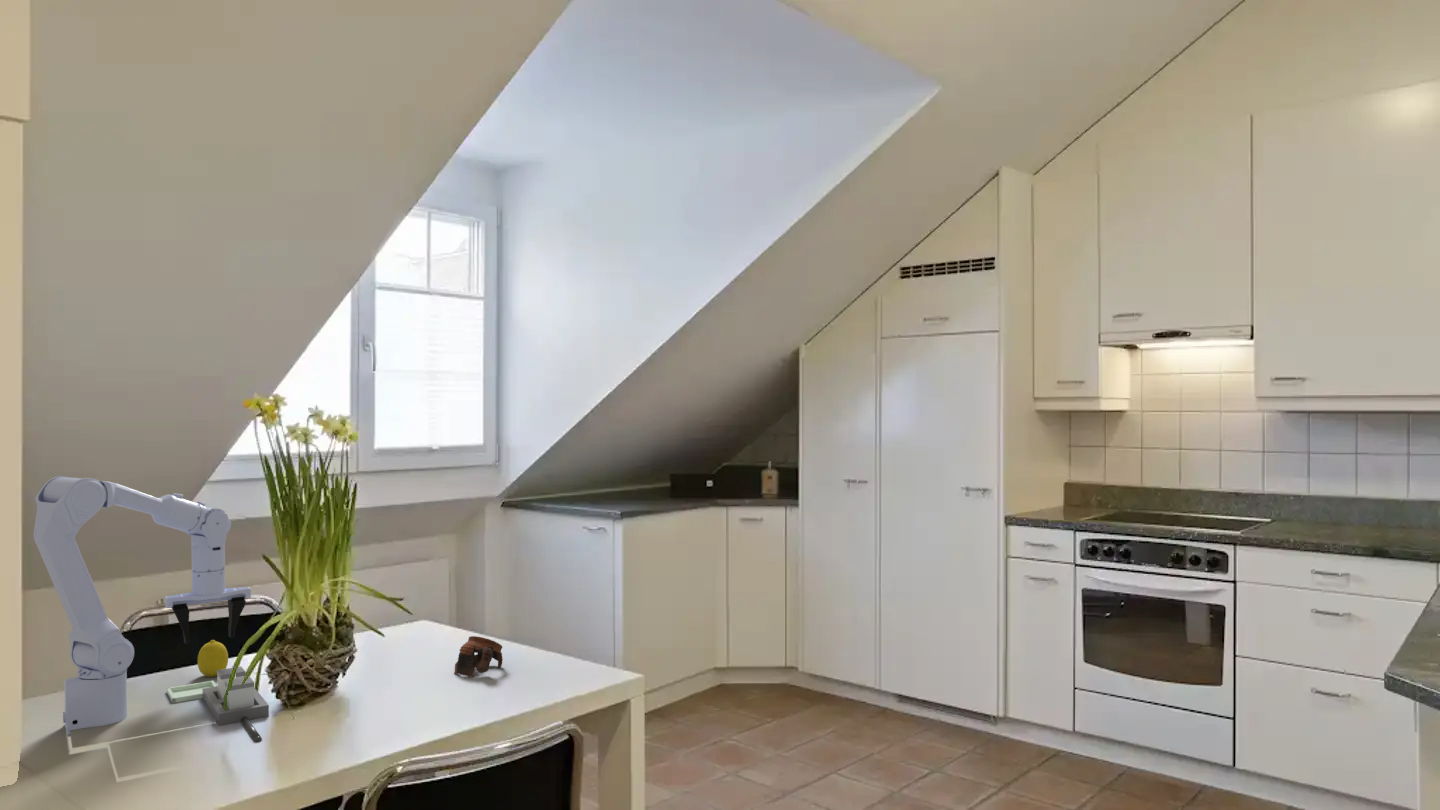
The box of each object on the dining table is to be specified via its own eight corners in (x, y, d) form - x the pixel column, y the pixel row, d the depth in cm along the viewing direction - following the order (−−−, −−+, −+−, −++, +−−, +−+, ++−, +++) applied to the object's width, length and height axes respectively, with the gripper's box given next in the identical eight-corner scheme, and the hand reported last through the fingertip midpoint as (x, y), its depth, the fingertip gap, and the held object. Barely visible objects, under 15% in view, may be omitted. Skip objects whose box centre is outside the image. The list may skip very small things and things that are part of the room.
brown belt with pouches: (444, 673, 203) (458, 634, 206) (485, 687, 207) (498, 649, 210) (464, 671, 193) (478, 631, 197) (506, 686, 197) (520, 646, 201)
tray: (172, 707, 180) (172, 698, 180) (166, 696, 187) (166, 687, 187) (220, 698, 185) (220, 690, 185) (213, 688, 191) (213, 680, 191)
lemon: (219, 683, 195) (218, 643, 195) (192, 683, 195) (191, 643, 195) (233, 675, 200) (233, 636, 200) (207, 675, 200) (206, 636, 200)
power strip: (231, 750, 158) (231, 731, 158) (202, 701, 183) (202, 685, 183) (284, 739, 163) (284, 720, 163) (249, 693, 188) (248, 677, 188)
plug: (221, 707, 178) (220, 675, 178) (217, 702, 181) (217, 670, 181) (245, 703, 180) (245, 671, 180) (241, 698, 184) (241, 666, 184)
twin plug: (229, 720, 171) (228, 686, 171) (225, 714, 175) (224, 680, 174) (254, 715, 174) (254, 682, 174) (250, 709, 177) (249, 676, 177)
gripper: (245, 562, 195) (246, 630, 196) (162, 570, 187) (163, 641, 187) (252, 567, 190) (253, 637, 190) (167, 576, 181) (168, 649, 181)
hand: (209, 639), depth 188 cm, fingers open, 7 cm apart
